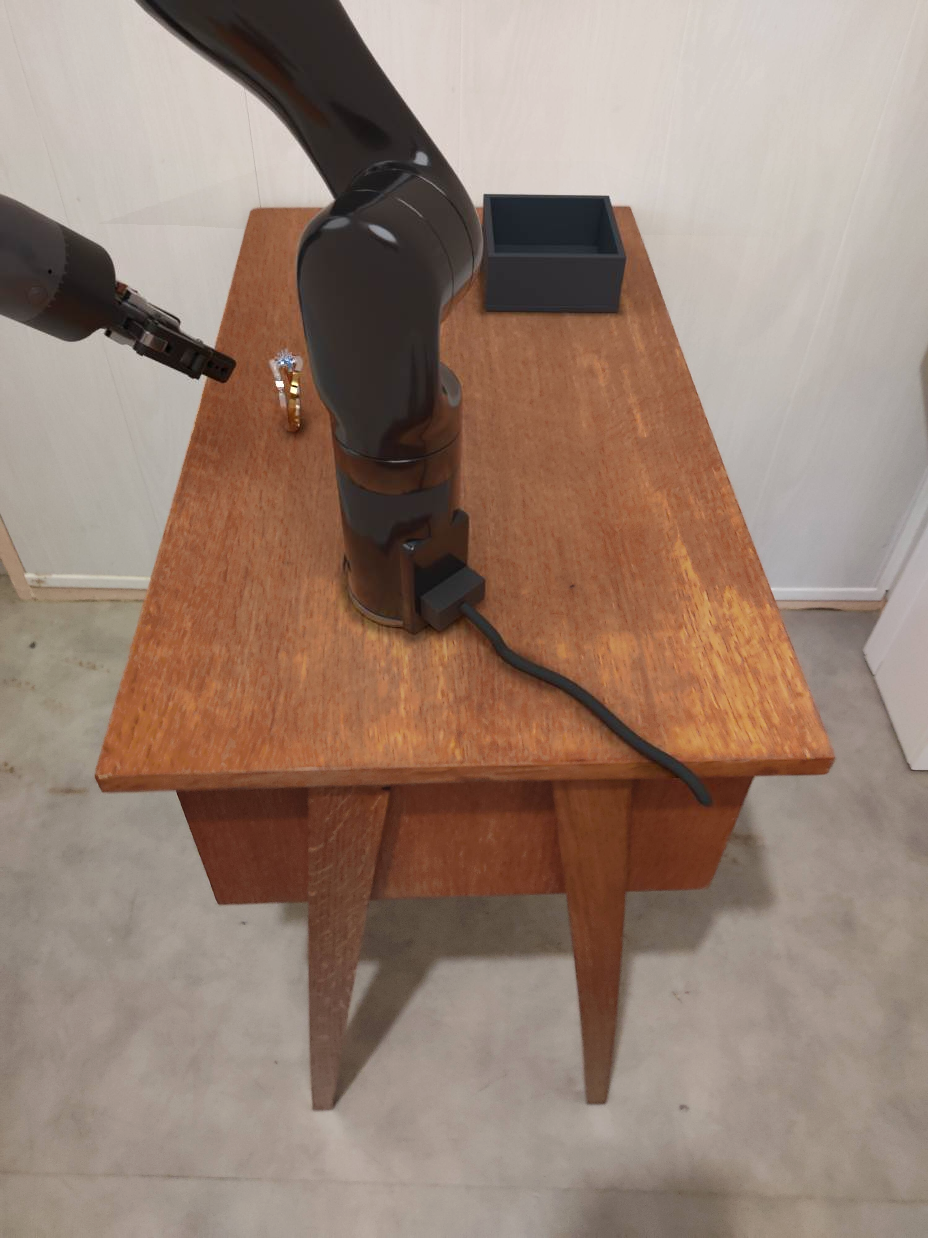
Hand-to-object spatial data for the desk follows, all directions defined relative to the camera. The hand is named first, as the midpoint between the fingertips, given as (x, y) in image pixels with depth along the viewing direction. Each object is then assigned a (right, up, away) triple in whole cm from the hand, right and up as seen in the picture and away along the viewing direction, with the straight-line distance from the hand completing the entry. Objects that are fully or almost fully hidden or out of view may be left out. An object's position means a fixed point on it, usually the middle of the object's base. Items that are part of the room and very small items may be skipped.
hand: (201, 349), depth 75 cm
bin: (+33, +19, +33) cm, 50 cm away
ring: (+6, -4, +13) cm, 15 cm away
